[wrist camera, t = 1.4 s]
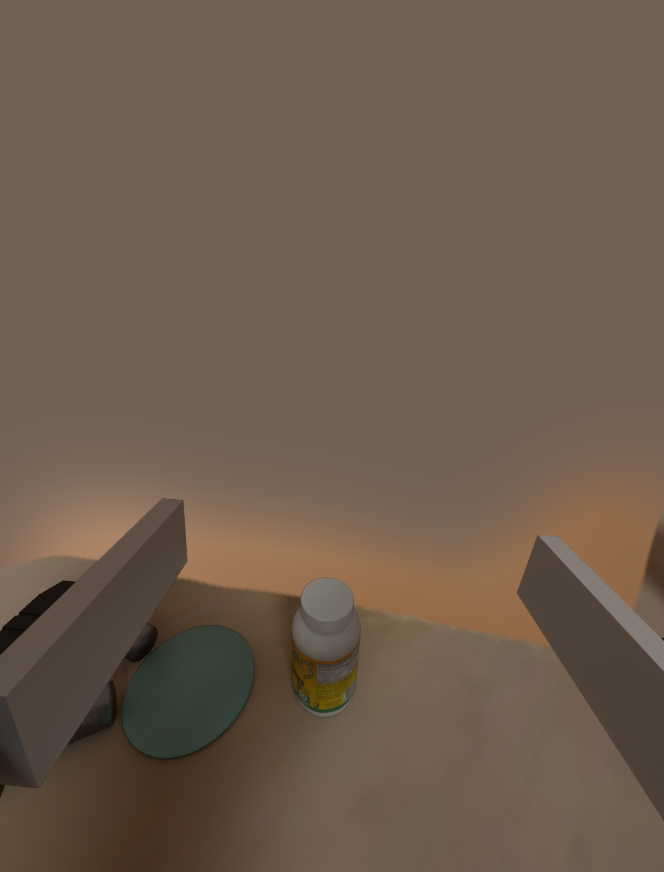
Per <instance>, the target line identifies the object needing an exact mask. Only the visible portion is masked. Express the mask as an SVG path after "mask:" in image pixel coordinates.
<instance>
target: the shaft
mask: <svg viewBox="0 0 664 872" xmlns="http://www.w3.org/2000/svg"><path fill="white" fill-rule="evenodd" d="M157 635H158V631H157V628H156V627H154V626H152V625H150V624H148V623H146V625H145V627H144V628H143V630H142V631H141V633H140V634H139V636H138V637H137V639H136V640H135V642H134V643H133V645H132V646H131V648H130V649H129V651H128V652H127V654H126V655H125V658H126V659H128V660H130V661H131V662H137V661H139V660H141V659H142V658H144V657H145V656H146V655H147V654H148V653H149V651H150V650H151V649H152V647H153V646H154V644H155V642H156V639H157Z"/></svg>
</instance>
